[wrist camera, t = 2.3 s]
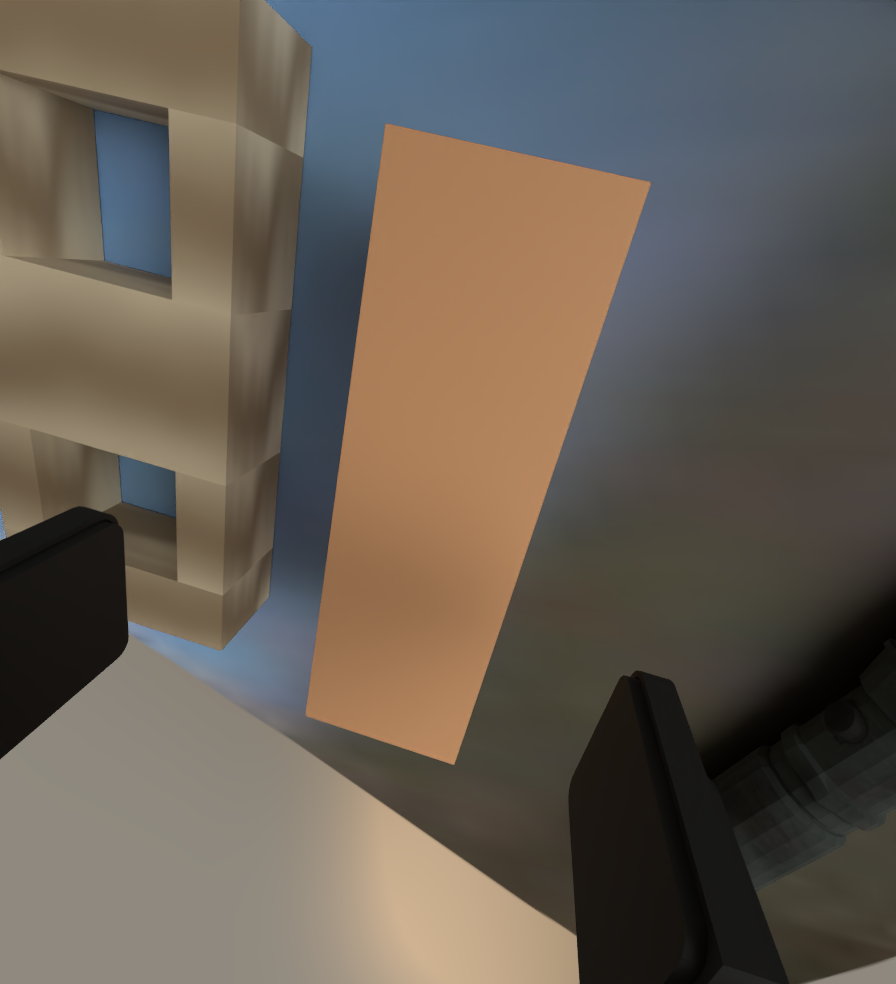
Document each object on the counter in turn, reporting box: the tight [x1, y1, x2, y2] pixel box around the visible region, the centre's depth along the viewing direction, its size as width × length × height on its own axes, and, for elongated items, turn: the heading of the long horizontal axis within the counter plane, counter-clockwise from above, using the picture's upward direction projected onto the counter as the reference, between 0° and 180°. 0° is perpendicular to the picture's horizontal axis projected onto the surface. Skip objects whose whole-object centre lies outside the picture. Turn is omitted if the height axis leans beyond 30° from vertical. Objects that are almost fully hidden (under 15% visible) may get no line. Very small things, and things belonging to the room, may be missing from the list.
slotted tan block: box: [0, 0, 312, 651], centre depth 19 cm, size 22×10×4 cm, turn 167°
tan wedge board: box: [306, 123, 651, 765], centre depth 16 cm, size 16×5×8 cm, turn 167°
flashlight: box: [712, 634, 896, 891], centre depth 20 cm, size 5×21×5 cm, turn 149°
